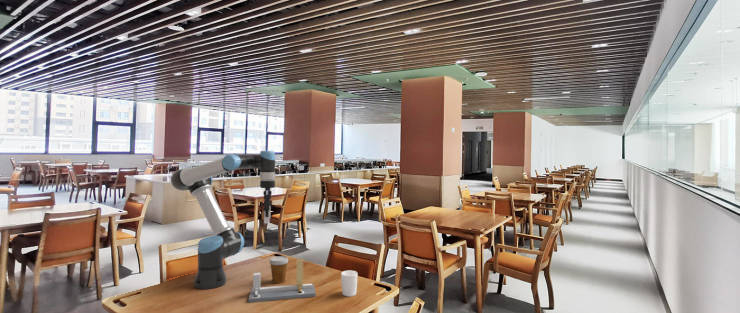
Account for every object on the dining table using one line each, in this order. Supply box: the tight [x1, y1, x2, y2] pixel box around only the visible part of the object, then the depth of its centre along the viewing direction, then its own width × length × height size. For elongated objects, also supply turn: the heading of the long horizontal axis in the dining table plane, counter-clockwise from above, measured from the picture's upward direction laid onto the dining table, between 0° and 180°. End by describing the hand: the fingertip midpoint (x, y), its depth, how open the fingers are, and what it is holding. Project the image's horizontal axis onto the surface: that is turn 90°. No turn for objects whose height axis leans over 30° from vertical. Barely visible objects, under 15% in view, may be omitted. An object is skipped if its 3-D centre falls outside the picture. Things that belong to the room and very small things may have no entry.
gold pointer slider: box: [295, 258, 304, 292], centre depth 172 cm, size 3×8×13 cm, turn 14°
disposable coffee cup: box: [269, 255, 289, 284], centre depth 188 cm, size 10×10×12 cm
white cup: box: [340, 269, 359, 297], centre depth 172 cm, size 8×8×10 cm
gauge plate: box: [248, 272, 317, 303], centre depth 171 cm, size 30×12×10 cm, turn 104°
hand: (267, 220), depth 188 cm, fingers open, 13 cm apart
